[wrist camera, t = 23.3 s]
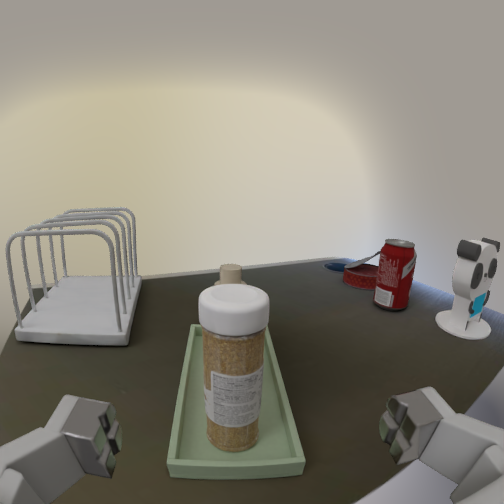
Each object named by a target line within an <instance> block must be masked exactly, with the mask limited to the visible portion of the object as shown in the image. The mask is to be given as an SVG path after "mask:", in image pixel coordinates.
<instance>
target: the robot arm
mask: <svg viewBox="0 0 504 504" xmlns="http://www.w3.org/2000/svg"><path fill="white" fill-rule="evenodd" d="M386 407H387V409H388V410H387V411H386V412H385V413H384V414H383V415H382V416H381V419H380V422H379V432H380V436H381V438H382V440H383V442H385V443H387V444H389V445H390V449H389V452H390V454H391V456H392V458H393V459H394V461H395V463H396V465H399V464H403V463H406V462H410V461H413V460H416V459H419V460H420V461H421V462H423V463H424V464H426V465H427V466H429V467H431V468H432V469H434V470H435V471H437V472H439V473H440V474H442V475H443V476H445V477H447V478H448V479H450V480H452V481H454V482H455V483H457V484H458V486H457V487H456V489H455V490H454V491H453V492H452V493H451V496H450V499H451V500H452V502H453V504H504V429H501V428H498V427H495V426H493V425H490V424H487V423H484V422H482V421H479V420H476V419H474V418H471V417H468V416H466V415H463V414H461V413H458V414H456V413H455V412H454V411H453V410H452V409H451V407H450V406H449V405H448V404H447V403H446V402H445V401H444V399H443V398H442V397H441V396H440V395H439V394H438V393H437V391H436V390H435V389H434V388H432V387H430V386H429V387H425V388H421V389H417V390H414V391H409V392H405V393H401V394H396V395H392V396H390V397H389V399H388V400H387V403H386ZM115 415H116V410H115V407H114V405H113V404H112V403H108V402H102V401H97V400H92V399H87V398H82V397H76V396H72V395H68V394H67V395H65V396H64V397H63V398H62V400H61V401H60V403H59V405H58V406H57V408H56V409H55V411H54V413H53V414H52V416H51V418H50V419H49V421H48V423H47V424H46V426H45V428H41V427H40V428H38V429H36V430H34V431H32V432H30V433H28V434H26V435H24V436H22V437H20V438H18V439H16V440H14V441H11V442H9V443H7V444H5V445H3V446H1V447H0V504H50V503H51V502H52V501H54V500H55V499H56V498H58V497H59V496H60V495H61V494H63V493H64V492H65V491H66V490H68V489H69V488H70V487H71V486H72V485H74V484H75V483H76V482H77V481H79V480H80V479H81V478H82V477H83V476H85V473H86V474H91V475H96V476H101V477H106V478H111V479H112V475H113V472H114V469H115V465H116V460H115V458H114V455H115V454H117V453H118V452H120V449H121V445H122V429H121V426H120V423H119V422H118V421H117V420H116V419H115Z"/></svg>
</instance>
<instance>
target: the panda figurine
mask: <svg viewBox="0 0 504 504" xmlns="http://www.w3.org/2000/svg"><path fill="white" fill-rule="evenodd" d="M499 248H500V242H497V241H494V240H490V239H487V238H482V241H478V240H470V241H465V240H461V241H460V243H459V245H458V249H457V255H458V259H457V262H456V265H455V268H454V272H453V277H452V287H453V291H454V293H455V297H454V302H453V307H452V310H447V311H442V312H439V313H438V314H437V315H436V318H435V321H436V323H437V325H438V326H439V327H440V328H441V329H443V330H444V331H446V332H448V333H450V334H452V335H454V336H457V337H460V338H464V339H471V340H479V339H484V338H486V337H488V336H489V335H490V332H491V328H490V326H489V325H488V323H487V322H486V321H484V320H483V319H481V315H482V311H483V307H484V305H485V304H486V303H487V301H488V298H489V295H490V291H489V290H488V289H489V287H490V285H491V283H492V280H493V277H494V274H495V272H496V267H497V252H499ZM487 291H488V292H487ZM486 295H487V296H486Z"/></svg>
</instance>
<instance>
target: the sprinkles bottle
mask: <svg viewBox="0 0 504 504" xmlns="http://www.w3.org/2000/svg"><path fill="white" fill-rule="evenodd" d="M268 320H269V297H268V295H267V294H266V293H265V292H264V291H263V290H261V289H259V288H256V287H253V286H249V285H244V284H222V285H216V286H212V287H210V288H207V289H206V290H204V291H203V292H202V293H201V294H200V296H199V322H200V324H201V327H202V335H203V337H202V338H203V365H204V367H203V377H204V400H205V411H206V415H207V438H208V440H209V441H210V443H211V444H212V445H214V446H215V447H217V448H218V449H221V450H223V451H229V452H240V451H245V450H247V449H249V448H250V447H252V446H253V445H254V444H255V443H256V442H257V440H258V437H259V429H258V419H259V414H260V408H261V396H262V382H263V369H264V358H263V355H264V340H265V331H266V325H267V324H268Z"/></svg>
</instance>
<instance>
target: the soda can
mask: <svg viewBox="0 0 504 504" xmlns="http://www.w3.org/2000/svg"><path fill="white" fill-rule="evenodd" d="M385 242H386V243H385V245H384V246H383V247H382V249H381V252H380V260H379V267H378V273H377V280H376V286H375V292H374V298H373V301H374V303H375V304H376V305H378V306H379V307H380V308H382V309H384V310H388V311H399V310H401V309H404V308H406V307H407V305H408V300H409V296H410V291H411V285H412V280H413V274H414V269H415V263H416V257H417V255H416V252H415V250H414V246H415V244H414V243H411V242H409V241H404V240H398V239H386V240H385Z"/></svg>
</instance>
